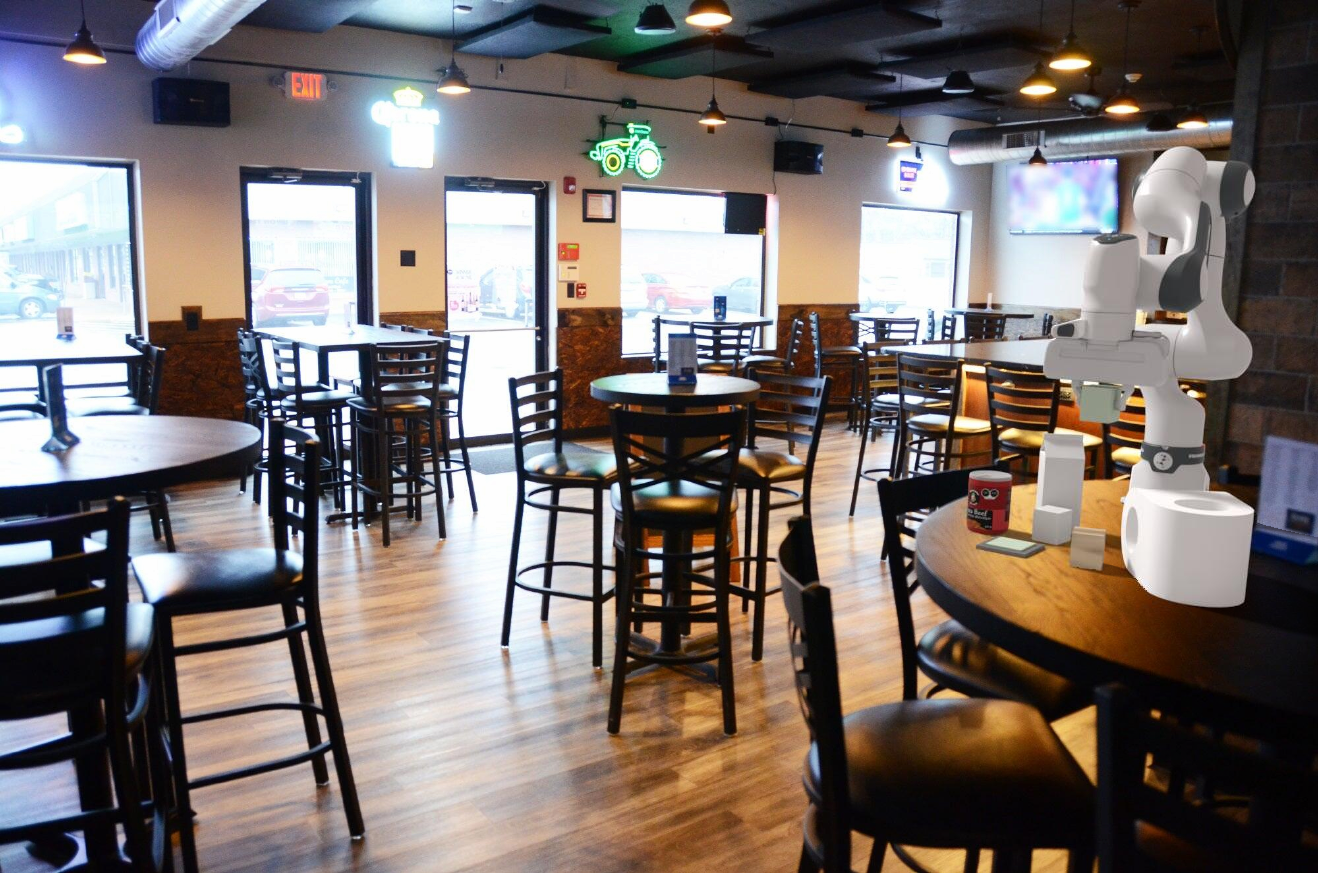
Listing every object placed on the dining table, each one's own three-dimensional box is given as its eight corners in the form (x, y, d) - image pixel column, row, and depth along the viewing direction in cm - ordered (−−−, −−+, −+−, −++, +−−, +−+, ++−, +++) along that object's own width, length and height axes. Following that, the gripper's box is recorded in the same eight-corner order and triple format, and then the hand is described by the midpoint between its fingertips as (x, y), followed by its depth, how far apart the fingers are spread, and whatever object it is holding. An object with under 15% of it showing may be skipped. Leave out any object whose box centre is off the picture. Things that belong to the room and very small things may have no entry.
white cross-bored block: (1258, 610, 157) (1205, 564, 181) (1268, 518, 155) (1213, 484, 179) (1157, 603, 160) (1118, 559, 184) (1165, 512, 157) (1125, 479, 182)
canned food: (957, 526, 205) (961, 471, 203) (990, 523, 208) (993, 469, 206) (984, 536, 198) (987, 479, 196) (1017, 532, 201) (1021, 476, 199)
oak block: (1072, 559, 183) (1074, 526, 182) (1103, 563, 181) (1106, 529, 180) (1069, 566, 179) (1072, 532, 178) (1100, 570, 177) (1103, 536, 176)
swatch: (997, 539, 196) (997, 534, 196) (1044, 548, 190) (1044, 543, 190) (976, 548, 189) (976, 543, 189) (1024, 557, 184) (1024, 553, 183)
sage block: (1090, 417, 186) (1092, 384, 185) (1118, 420, 183) (1121, 386, 182) (1079, 420, 183) (1082, 386, 182) (1108, 423, 179) (1111, 388, 178)
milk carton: (1079, 536, 199) (1086, 437, 196) (1039, 533, 200) (1047, 436, 197) (1072, 527, 206) (1079, 432, 203) (1034, 524, 207) (1041, 430, 204)
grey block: (1045, 535, 199) (1047, 505, 198) (1070, 541, 196) (1072, 509, 195) (1031, 539, 196) (1033, 508, 195) (1056, 545, 192) (1058, 513, 191)
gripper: (1177, 331, 176) (1169, 412, 178) (1056, 325, 189) (1050, 401, 192) (1164, 332, 171) (1157, 416, 173) (1042, 326, 185) (1036, 404, 187)
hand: (1100, 408), depth 183 cm, fingers closed on sage block, 5 cm apart
